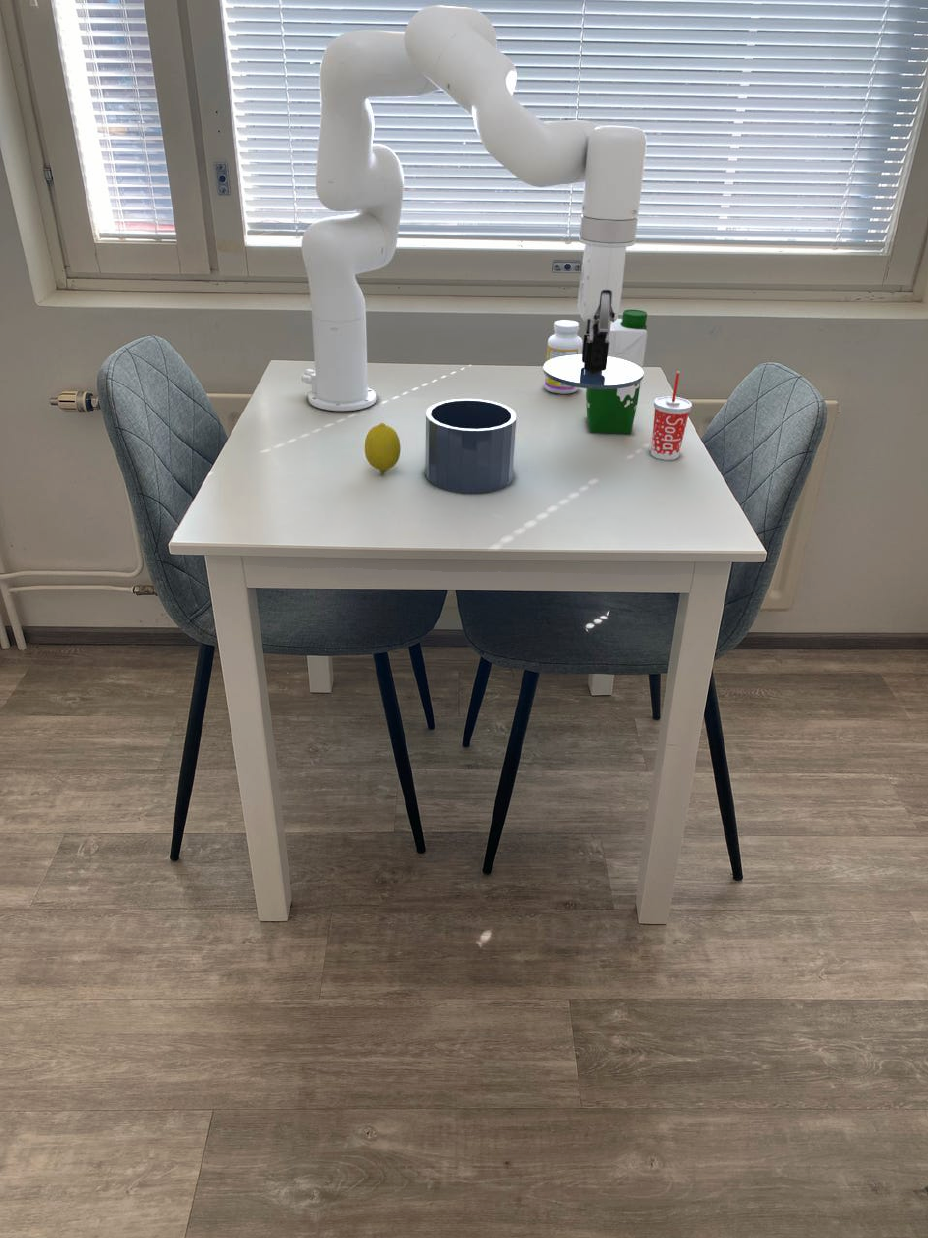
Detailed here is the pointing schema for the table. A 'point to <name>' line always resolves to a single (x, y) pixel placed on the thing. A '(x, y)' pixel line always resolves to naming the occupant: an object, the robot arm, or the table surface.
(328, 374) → the robot arm
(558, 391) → the supplement bottle
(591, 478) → the table surface
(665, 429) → the beverage cup
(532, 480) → the table surface
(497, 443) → the crock
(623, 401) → the milk carton
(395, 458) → the lemon
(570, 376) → the crock lid
